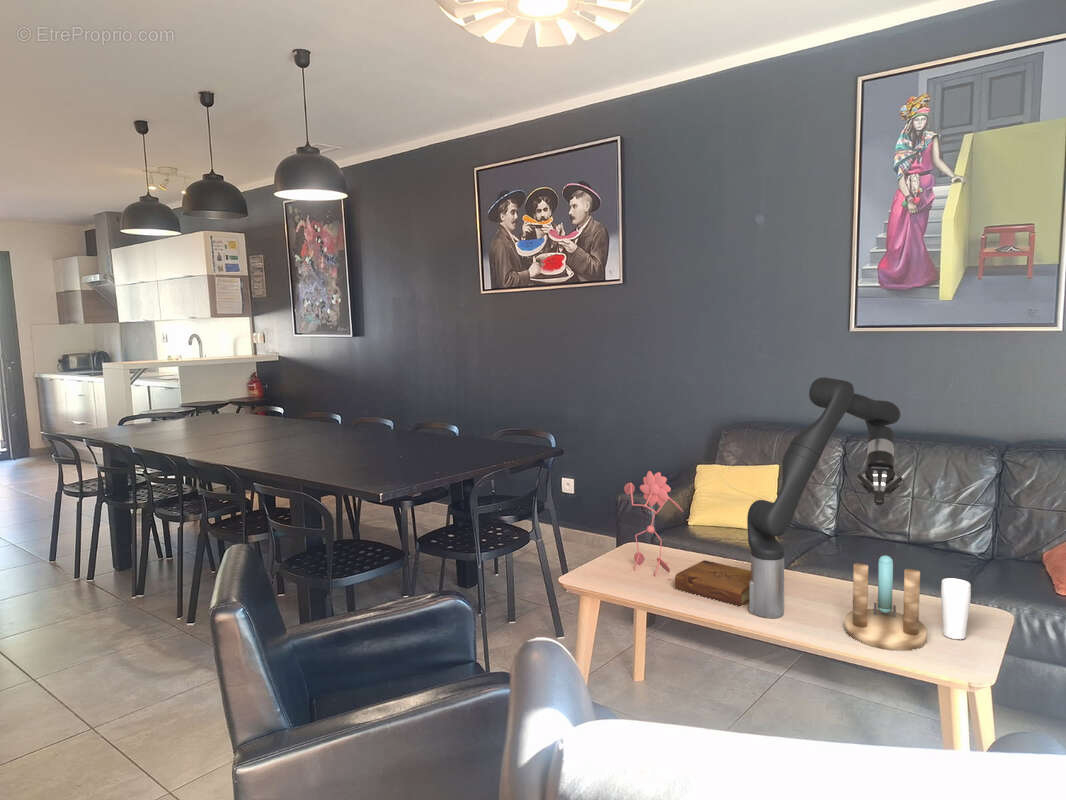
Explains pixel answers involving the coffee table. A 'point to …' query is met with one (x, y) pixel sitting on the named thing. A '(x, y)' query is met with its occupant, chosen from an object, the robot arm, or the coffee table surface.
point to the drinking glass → (955, 607)
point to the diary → (716, 582)
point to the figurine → (653, 493)
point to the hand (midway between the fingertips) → (879, 503)
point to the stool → (886, 615)
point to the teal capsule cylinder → (885, 584)
